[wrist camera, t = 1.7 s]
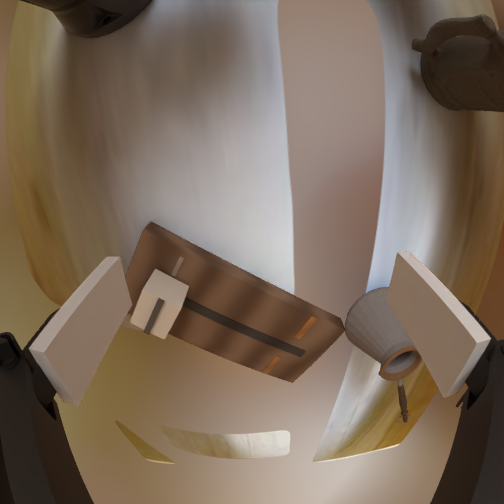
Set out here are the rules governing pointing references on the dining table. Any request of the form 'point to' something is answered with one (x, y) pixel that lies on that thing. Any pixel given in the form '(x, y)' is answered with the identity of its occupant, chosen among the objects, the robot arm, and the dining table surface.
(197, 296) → the fader panel
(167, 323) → the fader knob
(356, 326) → the coffee pot
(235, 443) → the dining table surface
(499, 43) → the beer stein
